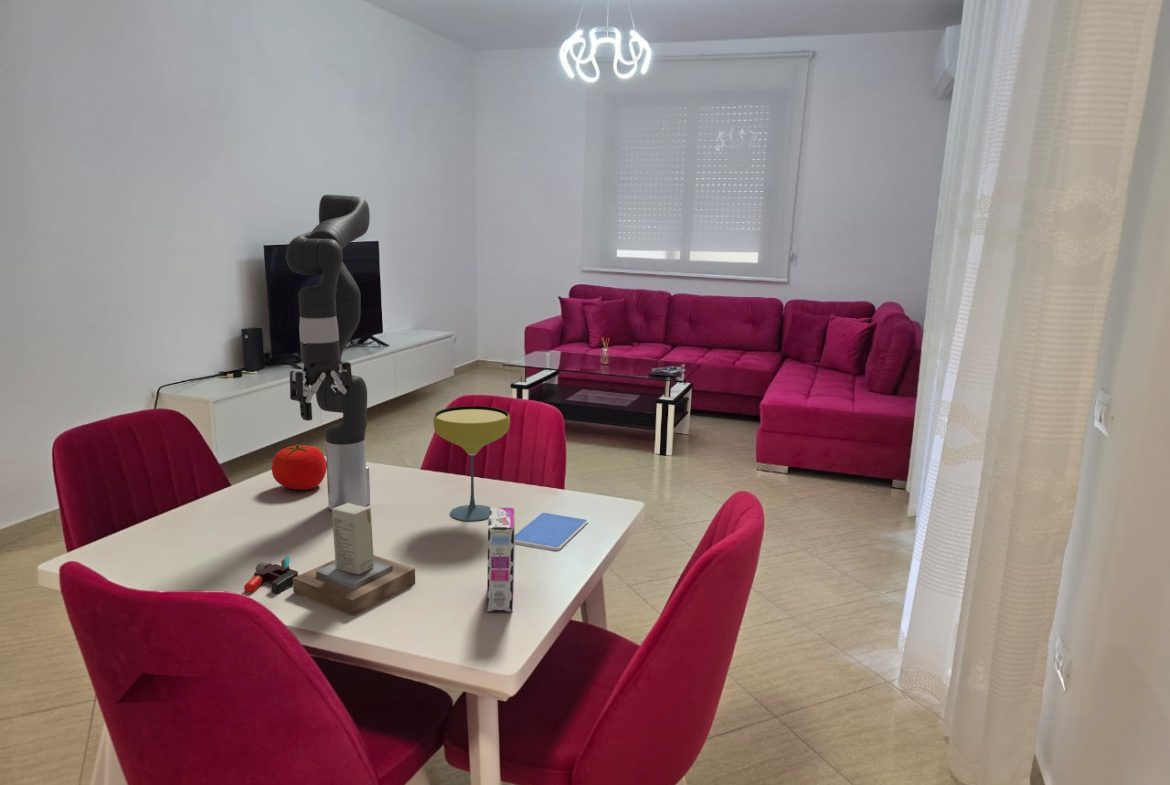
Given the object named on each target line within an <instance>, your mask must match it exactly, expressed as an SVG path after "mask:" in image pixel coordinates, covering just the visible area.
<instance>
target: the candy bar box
mask: <svg viewBox="0 0 1170 785" xmlns="http://www.w3.org/2000/svg"><path fill="white" fill-rule="evenodd" d="M515 520H516V519H515V507H490V513H489V518H488V522H487V583H486V584H487V585H486V586H487V588H486V590H487V593H486V594H487V596H486V597H487V598H486V599H487V600H486V603H487V604H486V606H487V607H486V612H487V613H512V612H513V609H514V608H513V606H514V591H515V590H514V589H515V588H514V587H515V551H516V550H515V549H516V548H515V547H516V546H515V545H516V544H515V534H516V533H515V531H516V530H515V529H516V528H515V527H516V525H515V524H516V523H515Z"/></svg>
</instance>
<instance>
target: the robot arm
mask: <svg viewBox="0 0 1170 785" xmlns="http://www.w3.org/2000/svg"><path fill="white" fill-rule="evenodd" d="M318 206H319V207H318V224H317V225H316V226H315V227H314V228H313V229H312V231H309V232H306V233H302V234H300V235H298V236H296V237H294V238H293V239H292V240H291V241H290V242H289V243H288V245H287V248H286V250H285V262H286V264H287V266H288V267H289V269H290V270H291V271H292V272H294V273H295V274H298V275H318V276H319V275H320V283H319V284H315V285H309V286H305V287H302V288H301V289H299V292H298V305H299V306H298V308H299V326H298V328H299V329H298V330H299V331H298V332H299V345H300V346H299V347H300V360H301V362H302V364H303V368H302V370H300V371H299V370H298V371H297V370H291V371H290V372H289V393H290V394H289V399H290V400H291V401H295V402H299V410H300V417H301V419H302V420H304V421H309V422H310V421H312V420H313V407H312V402H311V401H312V399H313V397H314V394H315V398H316V402H317V405H318V407H319V408H320V409H321V410H322V411H325V412H332V413H340V414H342V422H340V423H338V424H334V425H331V426H329V427H327V428H326V429H325V433H324V435H325V456H326V457H325V460H326V463H327V469H326V478H327V481H326V482H327V501H328V510H330V511H331V512H332V509H333V508H336V507H338V506H341V505H344V504H346V503H351V504H356V505H361V506H365V507H368V505H370V504H371V485H370V484H371V483H370V482H371V481H370V479H371V478H370V467H369V466H367V461H366V460H367V456H366V455H367V454H366V430H367V425H368V388H367V384H366V381H365V380H364V379H363V377H362V376H359V375H353V373H352V365H351V362H348V361H343V360H342V356H343V352H344V350H345V348H346V346H347V344H348V343H349V342H350V340H351V338H352V337H353V335H354V333H355V331H356V330H357V328H358V326H359V324H360V321H361V307H362V306H361V304H362V303H361V291H360V287H359V286H358V285H357V282H356V280H355V279H354V277H353V275H352V273H351V272H350V271H349V269H348V268H347V266H346V264H345V263H344V261H343V258H344V255H343V254H344V253H343V250H344V249H345V247H346V246H347V245H349V244H351V243H352V242H353V241H355V240H357V239H359V238H360V237H363V236H364V235H365V234H366V233H367V231H368V229H369V226H370V221H371V220H370V215H371V214H370V208H369V203H368V201H367V200H366V199H365V198H363V197H360V196H356V195H355V196H354V195H342V194H338V195H337V194H324V195H322V196H321V199H320V200H319V205H318Z"/></svg>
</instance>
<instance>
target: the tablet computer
mask: <svg viewBox="0 0 1170 785" xmlns="http://www.w3.org/2000/svg"><path fill="white" fill-rule="evenodd" d="M587 522H588V523H589V520H587V519H585V518H579V517H572V516H567V515H560V514H555V513H553V514H552V513H547V512H541V513H540V514H538V515H536V517H535V518H533V519H532V520H531V521H529V523H527V524H526V525H525V526H524V527H522V528H521V529H519V530H518V531H517V532H516V533H515V545H520V546H526V547H530V548H537V549H542V550H548V551H554V552H558V551H560V550H562V548H563V547H564V546H566V544H567V543H569V541H570V540H572V538H574V537H575V536H576V535H577V534H578V533H579V532H580V531H581V530H582V529H584V527H586V525H587V524H586V523H587ZM585 524H586V525H585Z"/></svg>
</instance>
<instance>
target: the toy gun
mask: <svg viewBox="0 0 1170 785" xmlns="http://www.w3.org/2000/svg"><path fill="white" fill-rule="evenodd" d="M280 562H281V565H280V564H276V563H274V564H272V563H270V562H266V561H264V560H263V561H260V562H258V563H257V565H256V566H255V572H254V573H253V577H251V578H250V579H249V580H248V581H247V582H246V583H245V584H244V586H243V589H244V591H245V593H247V594H252V593H254V592H255V591H256V590H257V589H258V588H259V587H260V586H261V585H262V584H263V585H265V584H266V583H270V591H271V592H272V593H273V594H277V595H279V594H280V593H282V592H283V591H284V590H286V589H288V588H289V587H291V586H293V578H294V577H296V576H299V571H298V570H295V569H292V568H290V555H289V554H286V555H285V556H284V557H283V558H282V559H281V560H280Z"/></svg>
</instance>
